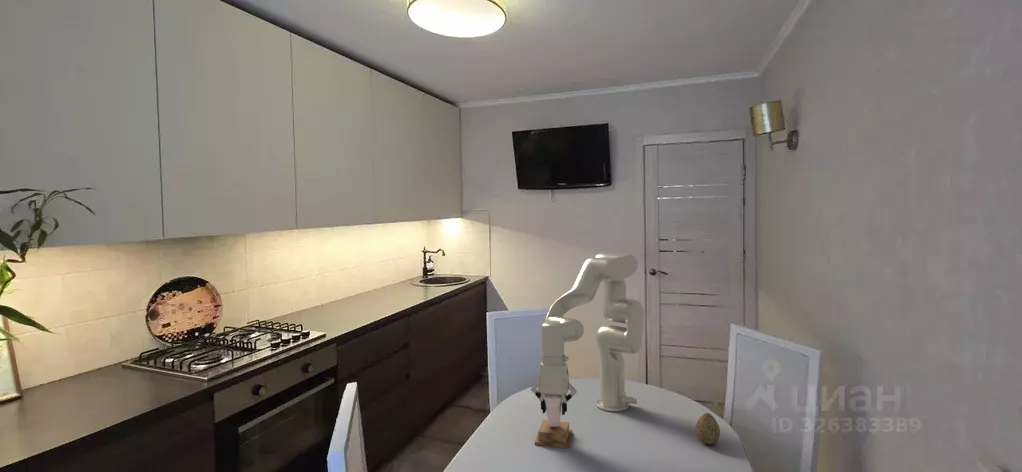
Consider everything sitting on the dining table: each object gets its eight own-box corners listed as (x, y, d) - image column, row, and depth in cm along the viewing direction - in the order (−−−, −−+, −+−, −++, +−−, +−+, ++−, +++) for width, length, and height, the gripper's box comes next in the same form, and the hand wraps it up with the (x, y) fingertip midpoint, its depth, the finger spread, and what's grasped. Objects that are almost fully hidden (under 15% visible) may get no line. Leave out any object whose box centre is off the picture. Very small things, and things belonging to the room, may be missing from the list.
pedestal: (572, 432, 159) (572, 421, 158) (568, 448, 148) (568, 436, 148) (541, 429, 161) (540, 418, 161) (534, 444, 151) (534, 432, 150)
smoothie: (562, 428, 151) (561, 386, 150) (543, 427, 152) (541, 385, 152) (564, 420, 157) (563, 379, 157) (545, 419, 158) (544, 379, 158)
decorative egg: (716, 439, 152) (716, 409, 152) (722, 449, 145) (722, 418, 145) (693, 437, 153) (693, 408, 153) (698, 448, 146) (698, 417, 146)
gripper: (580, 357, 155) (581, 410, 156) (530, 354, 160) (531, 406, 160) (577, 364, 148) (578, 419, 149) (525, 361, 152) (526, 415, 153)
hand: (554, 412), depth 154 cm, fingers closed on smoothie, 5 cm apart
